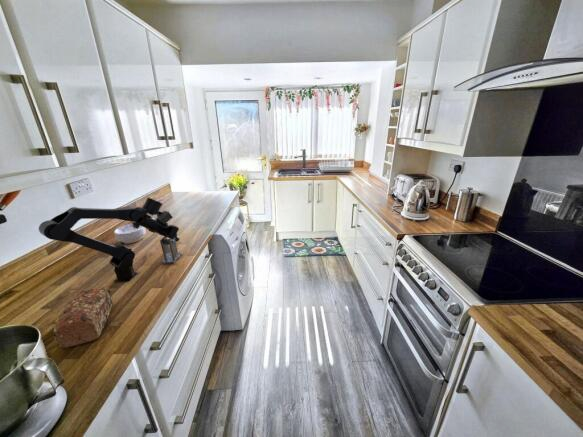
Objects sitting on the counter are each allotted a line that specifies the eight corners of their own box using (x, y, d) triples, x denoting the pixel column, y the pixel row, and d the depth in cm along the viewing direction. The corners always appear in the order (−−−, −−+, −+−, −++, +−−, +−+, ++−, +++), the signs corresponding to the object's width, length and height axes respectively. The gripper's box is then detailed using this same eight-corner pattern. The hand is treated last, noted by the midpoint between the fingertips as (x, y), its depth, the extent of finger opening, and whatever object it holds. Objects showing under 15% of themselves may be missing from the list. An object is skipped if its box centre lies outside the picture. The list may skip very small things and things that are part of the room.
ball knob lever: (175, 241, 126) (174, 235, 126) (180, 241, 126) (180, 235, 126) (163, 245, 115) (163, 239, 115) (169, 245, 115) (169, 239, 115)
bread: (101, 339, 75) (90, 315, 71) (58, 351, 71) (44, 326, 68) (116, 302, 91) (108, 280, 88) (82, 310, 88) (72, 288, 84)
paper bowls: (125, 248, 133) (121, 235, 130) (112, 242, 140) (108, 230, 138) (152, 237, 145) (149, 225, 142) (139, 232, 152) (135, 221, 150)
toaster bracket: (170, 254, 124) (165, 234, 120) (182, 254, 124) (177, 234, 120) (161, 264, 116) (156, 242, 112) (173, 264, 116) (168, 242, 112)
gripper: (170, 211, 109) (195, 224, 122) (148, 205, 119) (173, 218, 131) (158, 233, 106) (185, 244, 119) (136, 225, 115) (163, 237, 128)
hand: (176, 235), depth 124 cm, fingers closed
